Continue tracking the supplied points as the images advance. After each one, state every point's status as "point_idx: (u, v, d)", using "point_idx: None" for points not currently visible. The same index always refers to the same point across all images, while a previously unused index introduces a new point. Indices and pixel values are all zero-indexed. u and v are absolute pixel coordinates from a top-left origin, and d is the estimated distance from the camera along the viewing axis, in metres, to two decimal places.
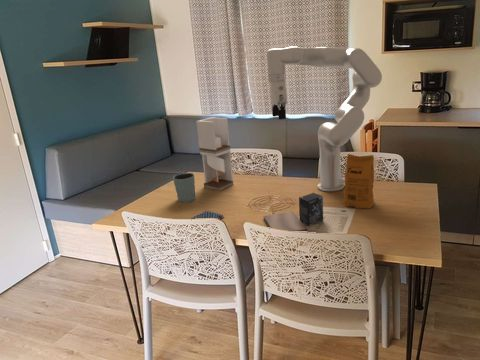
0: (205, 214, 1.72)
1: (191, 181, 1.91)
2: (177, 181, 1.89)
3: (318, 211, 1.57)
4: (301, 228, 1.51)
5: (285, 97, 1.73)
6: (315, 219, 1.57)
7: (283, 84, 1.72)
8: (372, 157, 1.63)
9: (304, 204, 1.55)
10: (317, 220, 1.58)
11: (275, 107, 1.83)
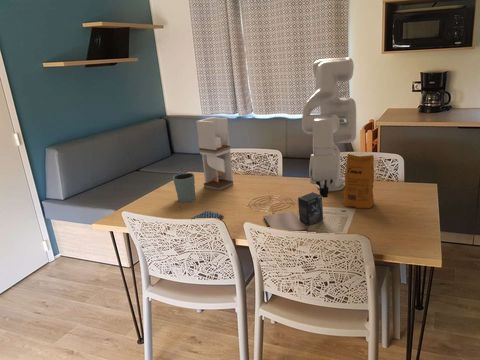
0: (205, 214, 1.72)
1: (191, 181, 1.91)
2: (177, 181, 1.89)
3: (318, 211, 1.57)
4: (301, 228, 1.51)
5: None
6: (315, 219, 1.57)
7: None
8: (372, 157, 1.63)
9: (303, 204, 1.54)
10: (317, 220, 1.57)
11: None
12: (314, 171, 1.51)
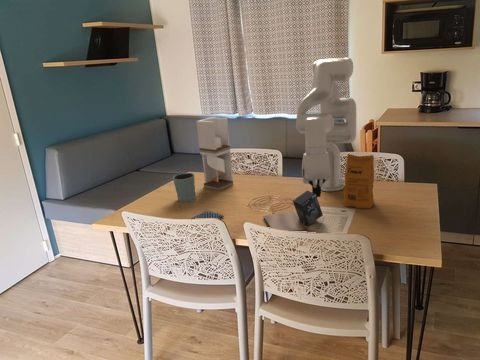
0: (205, 214, 1.72)
1: (191, 181, 1.91)
2: (177, 181, 1.89)
3: (315, 209, 1.55)
4: (301, 228, 1.51)
5: None
6: (313, 217, 1.56)
7: None
8: (372, 157, 1.63)
9: (299, 206, 1.53)
10: (316, 217, 1.56)
11: None
12: (306, 170, 1.51)
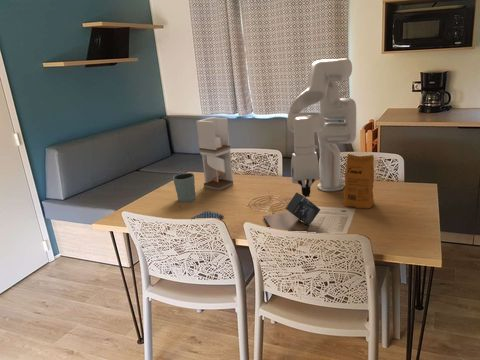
0: (205, 214, 1.72)
1: (191, 181, 1.91)
2: (177, 181, 1.89)
3: (309, 209, 1.53)
4: (301, 228, 1.51)
5: None
6: (311, 216, 1.55)
7: None
8: (372, 157, 1.63)
9: (292, 213, 1.53)
10: (314, 215, 1.55)
11: None
12: (295, 170, 1.50)
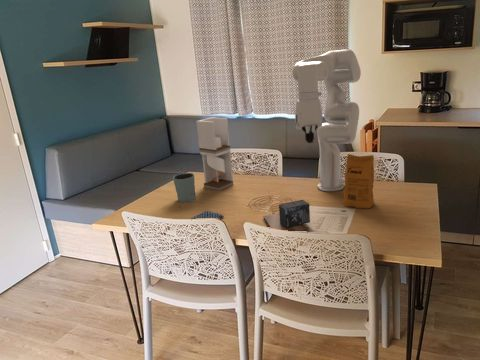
0: (205, 214, 1.72)
1: (191, 181, 1.91)
2: (177, 181, 1.89)
3: (299, 212, 1.52)
4: (301, 228, 1.51)
5: None
6: (305, 215, 1.53)
7: None
8: (372, 157, 1.63)
9: None
10: (307, 211, 1.53)
11: None
12: (299, 116, 1.57)
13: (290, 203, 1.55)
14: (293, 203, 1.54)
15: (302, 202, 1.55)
